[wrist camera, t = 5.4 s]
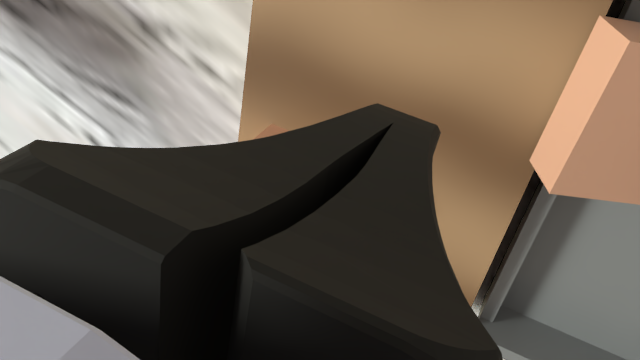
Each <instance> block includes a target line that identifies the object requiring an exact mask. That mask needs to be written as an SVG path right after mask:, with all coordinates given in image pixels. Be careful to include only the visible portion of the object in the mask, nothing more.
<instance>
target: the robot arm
mask: <svg viewBox="0 0 640 360" xmlns="http://www.w3.org/2000/svg"><path fill="white" fill-rule="evenodd" d="M440 134H441V132H440V130H439V128H438V125H436V124H433V123H430V122H428V121H425V120H422V119H419V118H417V117H414V116H411V115H408V114H406V113H403V112H400V111H397V110H395V109H392V108H389V107H386V106H384V105H381V104H378V103H377V104H373V105H369V106H366V107H363V108H360V109H357V110H355V111H352V112H349V113H346V114H343V115H340V116H337V117H334V118H331V119H328V120H325V121H322V122H319V123H316V124H313V125H310V126H306V127H302V128H299V129H295V130H291V131H288V132H284V133H280V134H277V135H273V136H268V137H264V138H258V139H253V140H247V141H241V142H234V143H228V144H220V145H207V146H193V147H179V148H120V147H102V146H91V145H81V144H70V143H60V142H50V141H42V140H35V141H33V142H31V143H30V144H28V145H26V146H24V147H22V148H20V149H18V150H17V151H15V152H13V153H11V154H9V155H7V156H5V157H3V158H2V159H0V360H503V358H502V353H501V351H500V349H499V347H498V346H497V344H496V343H495V342H494V340H493V339H492V337H491V336H490V334H489V333H488V331H487V330H486V329H485V327H484V326H483V324H482V323H481V321H480V320H479V319H478V317H477V316H476V314H475V313H474V311H473V310H472V308H471V307H470V305H469V303H468V301H467V299H466V298H465V296H464V294H463V292H462V290H461V287H460V285H459V283H458V280H457V278H456V276H455V273H454V271H453V269H452V266H451V264H450V262H449V259H448V257H447V253H446V250H445V247H444V244H443V241H442V237H441V233H440V229H439V225H438V221H437V216H436V210H435V203H434V195H433V183H432V162H433V155H434V152H435V149H436V146H437V143H438V140H439V137H440Z"/></svg>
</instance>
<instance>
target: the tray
mask: <svg viewBox="0 0 640 360" xmlns="http://www.w3.org/2000/svg"><path fill="white" fill-rule="evenodd" d="M618 19H623V20H629V21H634V22H640V0H626V2H625V4H624V6H623V8H622V11H621V13H620V15H619V17H618ZM478 319H479V320H480V321H481V323H482V324H483V326H484V327H485V329H486V330H487V331H488V333H489V334H490V336H491V337H492V339H493V340H494V342H495V343H496V344H497V346H498V347H499V349H500V351H501V353H502V358H503V359H505V360H640V205H638V204H629V203H621V202H613V201H605V200H597V199H588V198H580V197H572V196H564V195H556V194H549V192H548V191H547V189H546V187H545V186H544V184H543V182H542V181H540V183H539V185H538V187H537V189H536V191H535V193H534V195H533V197H532V200H531V202H530V204H529V206H528V208H527V210H526V212H525V214H524V216H523V219H522V221H521V223H520V225H519V227H518V229H517V231H516V233H515V235H514V237H513V240H512V242H511V244H510V246H509V248H508V250H507V252H506V254H505V256H504V258H503V261H502V263H501V265H500V267H499V269H498V271H497V273H496V275H495V277H494V279H493V282H492V284H491V286H490V288H489V290H488V292H487V294H486V296H485V298H484V300H483V303H482V307H481V310H480V313H479V316H478Z"/></svg>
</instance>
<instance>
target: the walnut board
mask: <svg viewBox="0 0 640 360" xmlns="http://www.w3.org/2000/svg"><path fill="white" fill-rule="evenodd" d="M612 1H613V0H253V5H252V15H251V25H250V34H249V44H248V53H247V63H246V72H245V82H244V91H243V101H242V110H241V120H240V129H239V139H238V142H241V141H247V140H253V139H254V138H255V137H256V136H257V135H259V134H260V133H261V132H262V131H263V130H265V129H266V128H267V127H268V126H269V125H271V124H274V125H276V126H279V127H281V128H284V129H286V130H289V131H291V130H295V129H299V128H302V127H306V126H310V125H313V124H316V123H319V122H322V121H325V120H328V119H331V118H334V117H337V116H340V115H343V114H346V113H349V112H352V111H355V110H357V109H360V108H363V107H366V106H369V105H373V104H377V103H378V104H381V105H384V106H386V107H389V108H392V109H395V110H397V111H400V112H403V113H406V114H408V115H411V116H414V117H417V118H419V119H422V120H425V121H428V122H430V123H433V124H436V125H438V128H439V130H440V132H441V134H440V137H439V140H438V143H437V146H436V149H435V152H434V155H433V162H432V183H433V195H434V203H435V210H436V216H437V221H438V225H439V229H440V233H441V237H442V241H443V244H444V247H445V250H446V253H447V257H448V259H449V262H450V264H451V266H452V269H453V271H454V273H455V276H456V278H457V280H458V283H459V285H460V287H461V290H462V292H463V294H464V296H465V298H466V299H467V301H468V303H469V305H470V307H471V306H472V304H473V302H474V299H475V297H476V295H477V293H478V291H479V289H480V287H481V284H482V282H483V280H484V278H485V276H486V274H487V271H488V269H489V267H490V265H491V263H492V261H493V258H494V256H495V254H496V252H497V250H498V248H499V245H500V243H501V241H502V239H503V237H504V235H505V232H506V230H507V228H508V226H509V224H510V222H511V220H512V217H513V215H514V213H515V211H516V209H517V207H518V204H519V202H520V200H521V198H522V196H523V194H524V191H525V189H526V187H527V185H528V183H529V181H530V178H531V176H532V174H533V172H534V170H535V169H534V167H533V166H532V164H531V162H530V161H529V160H530V158H531V156H532V154H533V152H534V150H535V148H536V146H537V144H538V142H539V139H540V137H541V135H542V133H543V131H544V129H545V127H546V125H547V123H548V121H549V119H550V117H551V115H552V113H553V111H554V108H555V106H556V104H557V102H558V100H559V98H560V96H561V94H562V92H563V90H564V88H565V86H566V84H567V82H568V80H569V78H570V75H571V73H572V71H573V69H574V67H575V65H576V63H577V61H578V59H579V57H580V55H581V53H582V51H583V49H584V47H585V44H586V42H587V40H588V38H589V36H590V34H591V32H592V30H593V28H594V26H595V24H596V22H597V20H598V18H599V16H606V14H607V12H608V10H609V8H610V6H611V3H612Z"/></svg>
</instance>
